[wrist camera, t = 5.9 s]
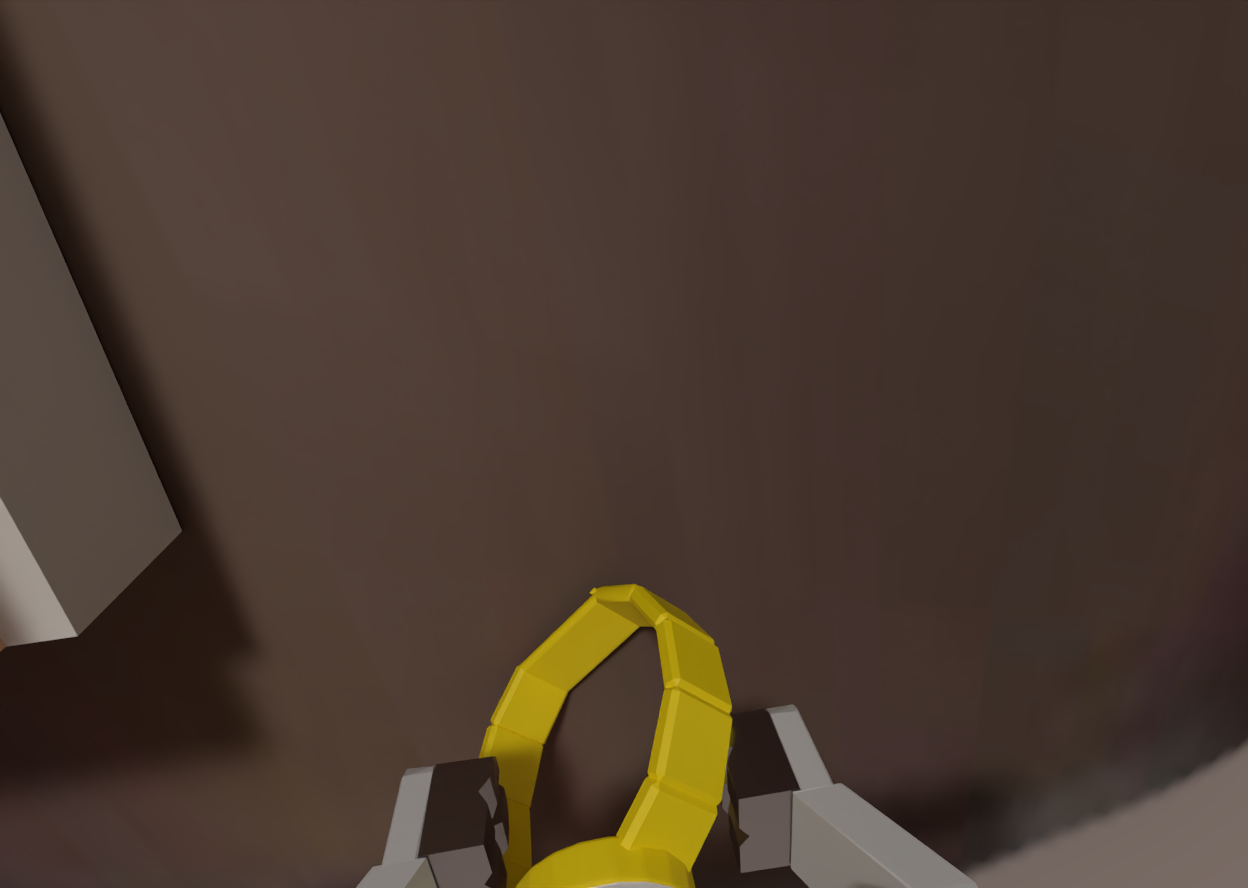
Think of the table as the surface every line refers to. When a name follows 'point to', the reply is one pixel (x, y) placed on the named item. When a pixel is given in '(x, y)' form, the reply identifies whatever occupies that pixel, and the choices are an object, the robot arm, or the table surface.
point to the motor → (62, 442)
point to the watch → (680, 759)
